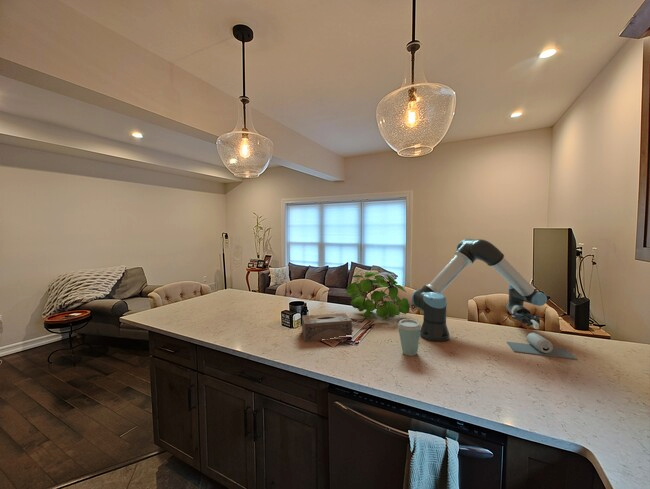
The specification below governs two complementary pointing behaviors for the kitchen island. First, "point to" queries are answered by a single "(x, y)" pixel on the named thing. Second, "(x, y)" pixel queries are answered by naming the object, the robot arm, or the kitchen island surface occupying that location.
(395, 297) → the indoor plant
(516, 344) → the blue-grey rectangular board
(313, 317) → the tissue box cover
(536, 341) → the beverage can
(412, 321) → the disposable coffee cup
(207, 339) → the kitchen island surface
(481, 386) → the kitchen island surface
